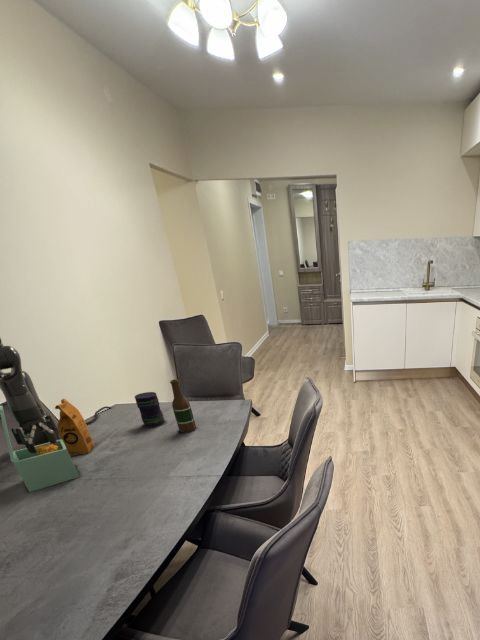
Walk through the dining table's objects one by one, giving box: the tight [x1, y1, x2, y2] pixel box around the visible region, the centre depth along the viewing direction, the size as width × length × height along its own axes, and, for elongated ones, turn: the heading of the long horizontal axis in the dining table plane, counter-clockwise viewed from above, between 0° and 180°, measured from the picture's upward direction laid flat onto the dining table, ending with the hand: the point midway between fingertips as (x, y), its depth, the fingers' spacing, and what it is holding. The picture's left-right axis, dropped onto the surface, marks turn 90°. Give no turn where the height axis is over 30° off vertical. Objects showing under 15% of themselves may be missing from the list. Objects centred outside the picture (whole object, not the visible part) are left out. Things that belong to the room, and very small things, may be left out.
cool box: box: [12, 438, 80, 493], centre depth 147 cm, size 16×13×12 cm
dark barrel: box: [134, 391, 166, 428], centre depth 193 cm, size 10×10×15 cm
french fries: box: [35, 444, 59, 456], centre depth 147 cm, size 8×4×12 cm, turn 89°
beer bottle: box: [169, 379, 197, 433], centre depth 182 cm, size 8×8×24 cm
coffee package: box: [54, 398, 95, 457], centre depth 167 cm, size 10×12×22 cm
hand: (44, 447), depth 145 cm, fingers open, 8 cm apart
